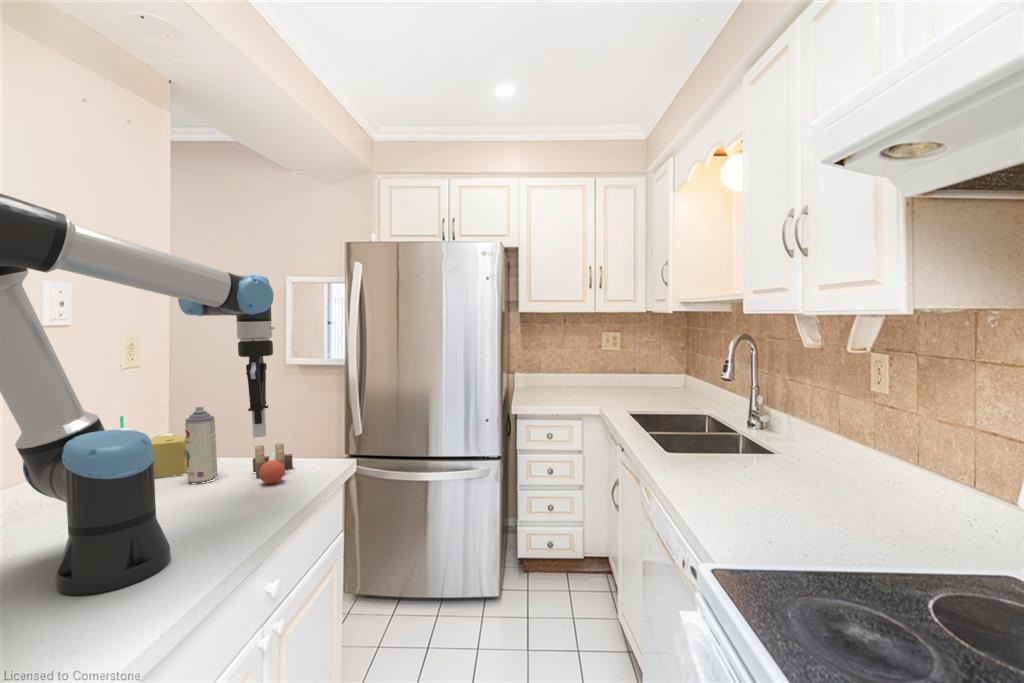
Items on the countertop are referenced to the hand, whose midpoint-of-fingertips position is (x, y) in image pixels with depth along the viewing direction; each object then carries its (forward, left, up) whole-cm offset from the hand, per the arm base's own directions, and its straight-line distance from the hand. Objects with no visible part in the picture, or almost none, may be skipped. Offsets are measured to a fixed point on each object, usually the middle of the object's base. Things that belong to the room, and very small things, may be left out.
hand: (259, 436), depth 121 cm
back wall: (+21, 0, -14) cm, 25 cm away
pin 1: (+16, +2, -14) cm, 21 cm away
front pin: (+13, 0, -14) cm, 18 cm away
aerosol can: (+19, +17, -15) cm, 29 cm away
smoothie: (+12, +32, -15) cm, 37 cm away
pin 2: (+16, -2, -14) cm, 21 cm away
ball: (+8, -1, -11) cm, 14 cm away
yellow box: (+31, +28, -15) cm, 44 cm away
